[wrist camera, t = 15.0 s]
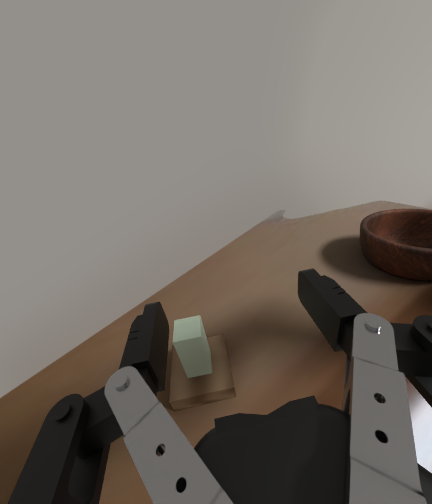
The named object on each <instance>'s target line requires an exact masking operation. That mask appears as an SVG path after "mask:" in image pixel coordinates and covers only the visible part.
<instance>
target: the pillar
mask: <svg viewBox="0 0 432 504" xmlns="http://www.w3.org/2000/svg"><path fill="white" fill-rule="evenodd" d="M173 344H174V346H175V349H176V351H177V354H178V356H179V358H180V361H181V363H182V366H183V368H184V370H185V373H186V375H187V378H191V377H196V376H201V375H206V374H211V373H212V363H211V352H210V348H209V344H208V341H207V338H206V334H205V331H204V327H203V324H202V320H201V317H200V315H199V316H194V317H189V318H184V319H179V320H175V322H174V334H173Z"/></svg>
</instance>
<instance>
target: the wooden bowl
mask: <svg viewBox="0 0 432 504" xmlns="http://www.w3.org/2000/svg"><path fill="white" fill-rule="evenodd" d="M360 242H361V247H362V251H363V253H364V255H365V256H366V258H367V259H368V260H369V261H370V262H371V263H372V264H373V265H374V266H376V267H377V268H379V269H381V270H383V271H385V272H388V273H390V274H393V275H396V276H400V277H403V278H408V279H414V280H426V281H432V210H425V209H393V210H386V211H380V212H377V213H373V214H371V215H369V216H367V217H365V218H364V219H363V220H362V222H361V225H360Z"/></svg>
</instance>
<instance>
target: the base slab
mask: <svg viewBox="0 0 432 504" xmlns="http://www.w3.org/2000/svg"><path fill="white" fill-rule="evenodd" d="M207 341H208V344H209V348H210V352H211V363H212V373H211V374H206V375H201V376H196V377H191V378H187V375H186V373H185V370H184V368H183V366H182V363H181V361H180V358H179V356H178V354H177V351H176V349H175V346H174V345H172V362H171V379H170V396H169V403H170V405H171V407H172V408H173V410H174V411H176V410H180V409H185V408H189V407H193V406H198V405H202V404H206V403H211V402H215V401H219V400H224V399H228V398H232V397H236V393H235V388H234V383H233V378H232V373H231V367H230V362H229V357H228V352H227V347H226V342H225V338H224V334H221V335H216V336H212V337H207Z"/></svg>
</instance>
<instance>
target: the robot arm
mask: <svg viewBox="0 0 432 504" xmlns="http://www.w3.org/2000/svg"><path fill="white" fill-rule="evenodd" d="M298 296H299V299H300V301H301V303H302V305H303V306H304V307H305V309H306V310H307V312H308V313H309V315H310V316H311V318H312V319H313V321H314V322H315V323H316V325H317V326H318V328H319V329H320V331H321V332H322V334H323V335H324V337H325V338H326V339H327V341H328V342H329V344H330V345H331V347H332V348H333V350H334V351H335V352H336V351H341V350H344V352H345V353H346V354H347V356H346V365H345V378H344V392H343V400H342V407H341V410H339V409H337V408H335V407H332V406H329V405H324V404H318V403H317V401H316V399H315V397H314V396H310V397H306V398H302V399H298V400H293V401H290V402H288V403H286V404H285V405H283V406H281V407H280V408H278V409H276V410H275V411H273V412H271V413H270V414H268V415H257V414H243V413H238V414H234V415H229V416H225V417H221V418H217V419H215V428H213V429H212V430H210V431H209V432H208V433H207V434H205V435H204V437H203V438H202V439H201V440H200V441H199V442H198V444H197V445H196V446H195V448H193V447H192V446H191V444H190V443H189V441H188V440H187V439H186V437H185V436H184V434H183V433H182V432H181V430H180V429H179V427H178V426H177V425H176V423H175V422H174V420H173V419H172V418H171V416H170V415H169V413H168V412H167V410H166V409H165V408H164V406H163V405H162V404H161V402H160V401H159V400H158V399H157V398H156V397H157V392H158V391H163V390H164V389H165V377H166V364H167V352H168V339H169V324H168V320H167V318H166V315H165V313H164V310H163V308H162V305H161V303H160V302H155V303H150V304H146V305H145V307H144V312H143V315H139V316H137V317H136V319H135V320H134V321H133V323H132V325H131V328H130V332H129V333H130V334H129V335H128V339H127V340H128V341H127V343H126V346H125V350H124V353H123V357H122V360H121V364H120V367H119V370H118V371H116V372H115V373H114V374H113V375H112V376H111V377H110V378H109V380H108V381H107V383H106V386H105V387H103V388H102V389H100V390H98V391H96V392H94V393H92V394H91V395H89V396H87V397H85V398H83V397H82V396H81V395H79V394H71V395H68V396H66V397H64V398H63V399H61V400H60V401H59V402H58V403H57V404H55V405H54V407H53V408H52V409H51V410H50V411H49V413H48V415H47V416H46V418H45V421H44V423H43V425H42V427H41V430H40V432H39V434H38V436H37V439H36V441H35V443H34V446H33V448H32V450H31V452H30V455H29V457H28V459H27V461H26V464H25V466H24V468H23V470H22V473H21V475H20V477H19V479H18V482H17V484H16V486H15V488H14V491H13V493H12V495H11V498H10V500H9V502H8V504H99V500H100V495H101V490H102V485H103V480H104V474H105V469H106V464H107V459H108V454H109V449H110V444H111V442H113V441H115V440H116V439H118V438H119V437H121V436H123V435H124V437H123V439H124V442H125V444H126V446H127V448H128V451H129V453H130V455H131V457H132V459H133V461H134V463H135V465H136V468H137V470H138V472H139V474H140V476H141V478H142V480H143V482H144V484H145V487H146V489H147V491H148V493H149V495H150V497H151V499H152V501H153V503H154V504H432V473H430V472H429V471H428V470H426V469H425V468H423V467H422V466H421V465H419V464H418V463H417V458H416V451H415V443H414V436H413V429H412V422H411V415H410V408H409V401H408V394H407V387H406V380H405V376H406V377H407V378H408V380H409V381H410V382H411V383H412V384H413V386H414V387H415V388H416V389H417V390H418V392H419V393H420V394H421V395H422V396H423V398H424V399H425V400H426V401H427V402H428V404H429V405H430V406H431V407H432V316H427V315H423V316H418V317H416V318H415V320H414V322H413V324H398V323H389V322H388V321H387V320H386V319H384V318H382V317H380V316H378V315H375V314H371V313H367V312H366V311H365V310H364V309H363V308H362V307H361V306H360V305H359V304H358V303H357V302H356V301H355V300H354V299H353V298H352V297H351V296H350V295H349V294H348V293H346V291H345V290H344V289H343V288H341V287H340V286H339V285H338V284H337V283H336V282H335V281H334V280H333V279H331V278H329V277H327V276H325V275H323V276H320V275H319V274H318V273H317V272H316V271H315V270H314V269H308V270H303V271H299V273H298ZM404 375H405V376H404Z"/></svg>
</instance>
